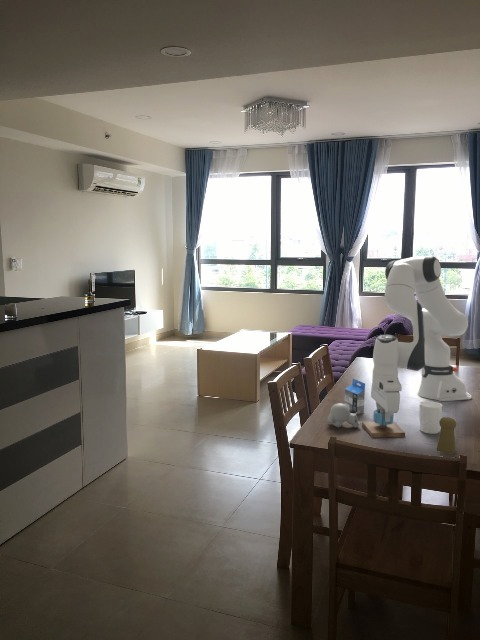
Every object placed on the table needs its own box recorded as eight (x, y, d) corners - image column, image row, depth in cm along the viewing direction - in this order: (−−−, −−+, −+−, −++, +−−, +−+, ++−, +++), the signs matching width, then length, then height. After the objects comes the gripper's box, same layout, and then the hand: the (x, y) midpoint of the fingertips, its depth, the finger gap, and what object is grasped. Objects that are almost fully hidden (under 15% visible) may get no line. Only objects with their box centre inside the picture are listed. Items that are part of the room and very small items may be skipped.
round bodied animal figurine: (354, 437, 196) (364, 418, 193) (324, 422, 198) (333, 403, 196) (356, 430, 202) (365, 411, 200) (327, 416, 205) (336, 397, 203)
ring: (371, 418, 198) (371, 409, 197) (389, 418, 198) (389, 409, 198) (377, 424, 191) (377, 415, 191) (395, 424, 192) (395, 414, 191)
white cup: (414, 427, 199) (416, 401, 198) (435, 426, 200) (436, 400, 198) (423, 434, 191) (425, 407, 190) (444, 434, 192) (446, 407, 191)
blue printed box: (343, 408, 222) (344, 379, 220) (351, 407, 223) (352, 378, 222) (356, 414, 214) (357, 384, 212) (364, 413, 215) (365, 383, 213)
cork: (439, 445, 181) (441, 414, 180) (457, 449, 178) (460, 417, 176) (434, 451, 177) (436, 419, 175) (453, 455, 173) (455, 422, 172)
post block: (393, 425, 201) (394, 400, 200) (405, 436, 190) (406, 410, 188) (362, 425, 201) (362, 401, 199) (371, 437, 189) (372, 411, 187)
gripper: (367, 373, 202) (366, 408, 204) (385, 388, 182) (383, 427, 184) (383, 373, 203) (382, 408, 205) (403, 387, 183) (401, 426, 185)
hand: (383, 417), depth 194 cm, fingers closed on ring, 7 cm apart
